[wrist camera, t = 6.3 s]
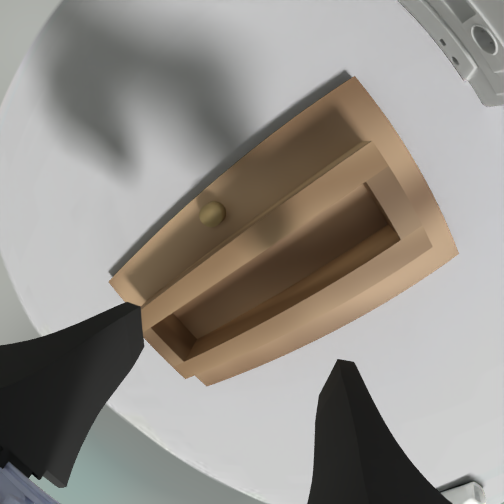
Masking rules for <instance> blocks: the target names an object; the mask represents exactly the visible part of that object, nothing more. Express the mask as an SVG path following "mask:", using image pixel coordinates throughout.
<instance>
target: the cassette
mask: <svg viewBox="0 0 504 504" xmlns="http://www.w3.org/2000/svg"><path fill="white" fill-rule="evenodd" d="M398 1H399V2H400V3H401V4H402V5H403V6H404V7H405V8H406V9H407V10H408V11H409V12H410V13H411V14H412V15H413V16H414V17H415V18H416V20H417V21H418V22H419V23H420V24H421V25H422V26H423V27H424V29H425V30H426V31H427V32H428V33H429V34H430V36H431V37H432V38H433V39H434V40H435V42H436V43H437V44H438V45H439V47H440V48H441V49H442V50H443V52H444V53H445V54H446V56H447V57H448V58H449V60H450V61H451V63H452V64H453V65H454V67H455V68H456V70H457V71H458V73H459V74H460V76H461V77H462V79H463V80H464V81H469V83H470V84H471V86H472V87H473V89H474V90H475V92H476V94H477V95H478V97H479V99H480V101H481V102H482V104H483V105H484V106H486V107H492V106H502V105H504V0H398Z"/></svg>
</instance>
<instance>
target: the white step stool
mask: <svg viewBox="0 0 504 504" xmlns="http://www.w3.org/2000/svg"><path fill="white" fill-rule="evenodd" d="M440 493H441V494H442V495H443V496H444V497H445V498H446V499H448V500H449V501H450V502H452V503H453V504H485V503H486V499H485V493H484V491H483V489H482V487H481V486H480V485H479V484H477V483H476V482H474V481H473V482H470V483H467V484H464V485H461V486H459V487H456V488H453V489H449V490H446V491H443V492H440Z"/></svg>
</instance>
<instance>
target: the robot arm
mask: <svg viewBox="0 0 504 504" xmlns="http://www.w3.org/2000/svg"><path fill="white" fill-rule="evenodd" d="M143 348H144V339H143V329H142V317H141V306H138V305H135V304H132V303H130V302H125V303H123V304H120V305H118V306H116V307H113V308H111V309H109V310H107V311H105V312H102V313H100V314H98V315H96V316H94V317H91V318H89V319H87V320H85V321H82V322H80V323H78V324H75V325H73V326H70V327H68V328H65V329H63V330H60V331H57V332H55V333H52V334H49V335H46V336H43V337H39V338H36V339H32V340H28V341H23V342H18V343H13V344H8V345H1V346H0V504H34V503H35V504H60V503H59V502H57V501H56V500H55V499H53V498H52V497H51V496H49V495H48V494H47V493H45V492H44V491H43V490H42V489H40V488H39V487H38V486H37V485H35V484H34V483H33V482H32V481H31V480H30V479H29V477H30V476H31V474H32V475H34V476H35V477H36V478H37V479H38V480H40V479H41V478H42V476H44V477H45V478H46V479H47V480H49V481H50V482H52V483H53V484H54V485H55V486H57V487H59V488H64V487H66V486H67V483H68V480H69V477H70V474H71V471H72V468H73V465H74V463H75V460H76V458H77V455H78V453H79V451H80V448H81V446H82V444H83V442H84V440H85V438H86V436H87V434H88V432H89V430H90V428H91V426H92V424H93V423H94V421H95V419H96V417H97V415H98V414H99V412H100V410H101V409H102V408H103V406H104V405H105V403H106V402H107V401H108V399H109V398H110V397H111V395H112V394H113V393H114V391H115V390H116V389H117V387H118V386H119V385H120V384H121V382H122V381H123V380H124V378H125V377H126V376H127V374H128V373H129V372H130V370H131V369H132V367H133V366H134V364H135V362H136V361H137V359H138V357H139V355H140V353H141V352H142V350H143ZM307 504H453V503H452V502H450V501H449V500H448V499H446V498H445V497H444V496H443V495H442V494H441V493H440V492H439V491H438V490H437V489H435V488H434V487H433V486H432V485H431V484H430V483H429V482H428V481H427V480H426V478H425V477H424V476H423V475H422V474H421V473H420V472H419V470H418V469H417V468H416V467H415V466H414V465H413V463H412V462H411V461H410V460H409V458H408V457H407V456H406V454H405V453H404V451H403V450H402V449H401V447H400V446H399V444H398V443H397V442H396V440H395V439H394V437H393V435H392V434H391V432H390V430H389V429H388V427H387V425H386V424H385V422H384V420H383V418H382V417H381V415H380V413H379V411H378V409H377V407H376V405H375V403H374V402H373V400H372V398H371V396H370V394H369V392H368V390H367V387H366V385H365V383H364V381H363V379H362V377H361V375H360V373H359V371H358V369H357V367H356V365H355V363H354V362H351V361H346V360H340V359H337V361H336V363H335V365H334V367H333V369H332V371H331V373H330V375H329V377H328V379H327V381H326V383H325V385H324V387H323V389H322V391H321V393H320V394H319V399H318V406H317V413H316V420H315V446H314V466H313V477H312V484H311V489H310V494H309V499H308V503H307Z"/></svg>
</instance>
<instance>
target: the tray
mask: <svg viewBox="0 0 504 504" xmlns="http://www.w3.org/2000/svg"><path fill="white" fill-rule="evenodd" d="M458 254H459V252H458V250H457V247H456V245H455V242H454V240H453V237H452V235H451V233H450V230H449V228H448V226H447V223H446V221H445V219H444V217H443V215H442V212H441V210H440V208H439V206H438V204H437V202H436V200H435V198H434V196H433V194H432V192H431V190H430V188H429V186H428V184H427V183H426V181H425V179H424V177H423V175H422V173H421V172H420V170H419V168H418V166H417V165H416V163H415V161H414V159H413V158H412V156H411V154H410V153H409V151H408V149H407V148H406V146H405V145H404V143H403V141H402V140H401V138H400V137H399V135H398V134H397V132H396V131H395V129H394V128H393V126H392V125H391V123H390V122H389V120H388V119H387V118H386V116H385V115H384V113H383V112H382V111H381V109H380V108H379V106H378V105H377V104H376V102H375V101H374V100H373V98H372V97H371V96H370V95H369V93H368V92H367V91H366V89H365V88H364V87H363V86H362V84H361V83H360V82H359V81H358V80H357V78H356V77H355V76H354V77H352V78H351V79H349V80H348V81H346V82H345V83H343V84H342V85H340V86H339V87H337V88H336V89H334V90H333V91H331V92H330V93H328V94H327V95H325V96H324V97H322V98H321V99H319V100H318V101H317V102H315V103H314V104H312V105H311V106H309V107H308V108H307V109H305V110H304V111H302V112H301V113H300V114H298V115H297V116H296V117H294V118H293V119H291V120H290V121H289V122H287V123H286V124H285V125H283V126H282V127H281V128H279V129H278V130H277V131H275V132H274V133H273V134H272V135H270V136H269V137H268V138H266V139H265V140H264V141H262V142H261V143H260V144H259V145H257V146H256V147H255V148H254V149H252V150H251V151H250V152H249V153H247V154H246V155H245V156H244V157H242V158H241V159H240V160H239V161H237V162H236V163H235V164H234V165H233V166H231V167H230V168H229V169H228V170H227V171H225V172H224V173H223V174H222V175H221V176H219V177H218V178H217V179H216V180H215V181H214V182H212V183H211V184H210V185H209V186H208V187H207V188H206V189H204V190H203V191H202V192H201V193H200V194H199V195H198V196H196V197H195V198H194V199H193V200H192V201H191V202H190V203H189V204H187V205H186V206H185V207H184V208H183V209H182V210H181V211H180V212H179V213H178V214H176V215H175V216H174V217H173V218H172V219H171V220H170V221H169V222H168V223H167V224H166V225H165V226H164V227H163V228H162V229H160V230H159V231H158V232H157V233H156V234H155V235H154V236H153V237H152V238H151V239H150V240H149V241H148V242H147V243H146V244H145V245H144V246H143V247H142V248H141V249H140V250H139V251H138V252H137V253H136V254H135V255H134V256H133V257H132V258H131V259H130V260H129V261H128V262H127V263H126V264H125V265H124V266H123V267H122V268H121V269H120V270H119V271H118V272H117V273H116V274H115V275H114V276H113V278H112V279H111V280H110V281H109V283H110V284H111V286H112V287H113V288H114V289H115V291H116V292H117V293H118V294H119V296H120V297H121V298H122V299H123V300H124V301H125V302H130V303H132V304H135V305H138V306H141V317H142V329H143V337H144V338H145V340H146V341H147V342H148V343H149V344H150V345H151V346H152V347H153V348H154V349H155V350H156V351H157V352H158V353H159V354H160V355H161V356H162V357H163V358H164V359H165V360H166V361H167V362H168V363H169V364H170V365H171V366H172V367H173V368H174V369H175V370H176V371H177V372H178V373H179V374H180V375H182V376H183V377H184V378H185V379H187V378H189V377H192V376H194V375H195V376H196V377H197V378H198V379H199V380H200V381H201V382H203V383H204V384H205V385H206V386H209V385H212V384H215V383H218V382H220V381H223V380H226V379H228V378H231V377H234V376H236V375H239V374H241V373H244V372H246V371H249V370H251V369H253V368H256V367H258V366H261V365H263V364H265V363H268V362H270V361H272V360H275V359H277V358H279V357H281V356H284V355H286V354H288V353H290V352H292V351H294V350H297V349H299V348H301V347H303V346H305V345H307V344H309V343H311V342H313V341H315V340H317V339H319V338H321V337H323V336H325V335H327V334H329V333H331V332H333V331H335V330H337V329H339V328H341V327H343V326H345V325H346V324H348V323H350V322H352V321H354V320H356V319H357V318H359V317H361V316H363V315H365V314H366V313H368V312H370V311H372V310H373V309H375V308H377V307H379V306H380V305H382V304H384V303H385V302H387V301H389V300H390V299H392V298H394V297H395V296H397V295H398V294H400V293H402V292H403V291H405V290H406V289H408V288H410V287H411V286H413V285H414V284H416V283H417V282H419V281H420V280H422V279H423V278H425V277H427V276H428V275H429V274H431V273H432V272H434V271H435V270H437V269H438V268H440V267H441V266H443V265H444V264H445V263H447V262H448V261H450V260H451V259H452V258H454V257H455V256H457V255H458Z"/></svg>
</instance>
